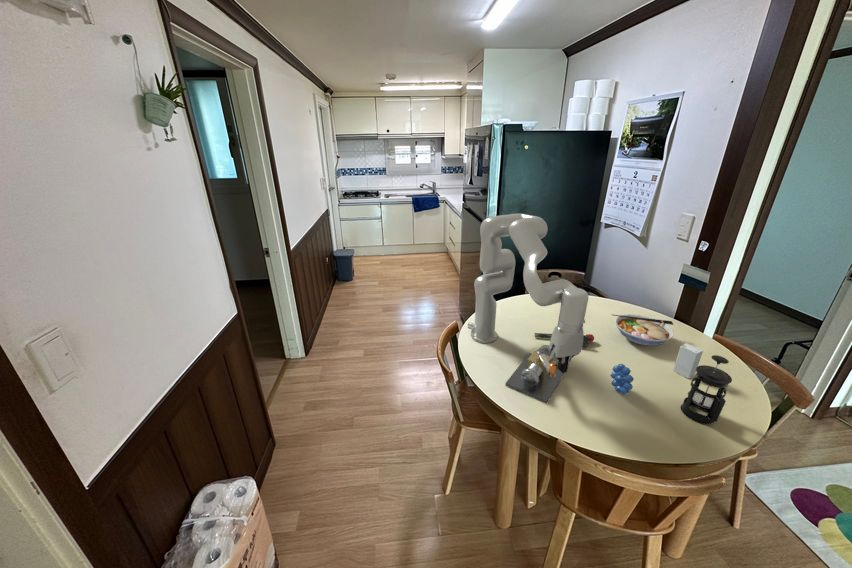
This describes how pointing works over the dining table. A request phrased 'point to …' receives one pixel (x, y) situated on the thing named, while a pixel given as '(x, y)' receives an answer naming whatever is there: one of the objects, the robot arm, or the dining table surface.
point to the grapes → (621, 379)
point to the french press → (704, 399)
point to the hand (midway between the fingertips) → (561, 370)
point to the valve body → (535, 377)
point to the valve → (586, 338)
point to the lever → (547, 363)
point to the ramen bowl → (644, 329)
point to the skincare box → (687, 360)
